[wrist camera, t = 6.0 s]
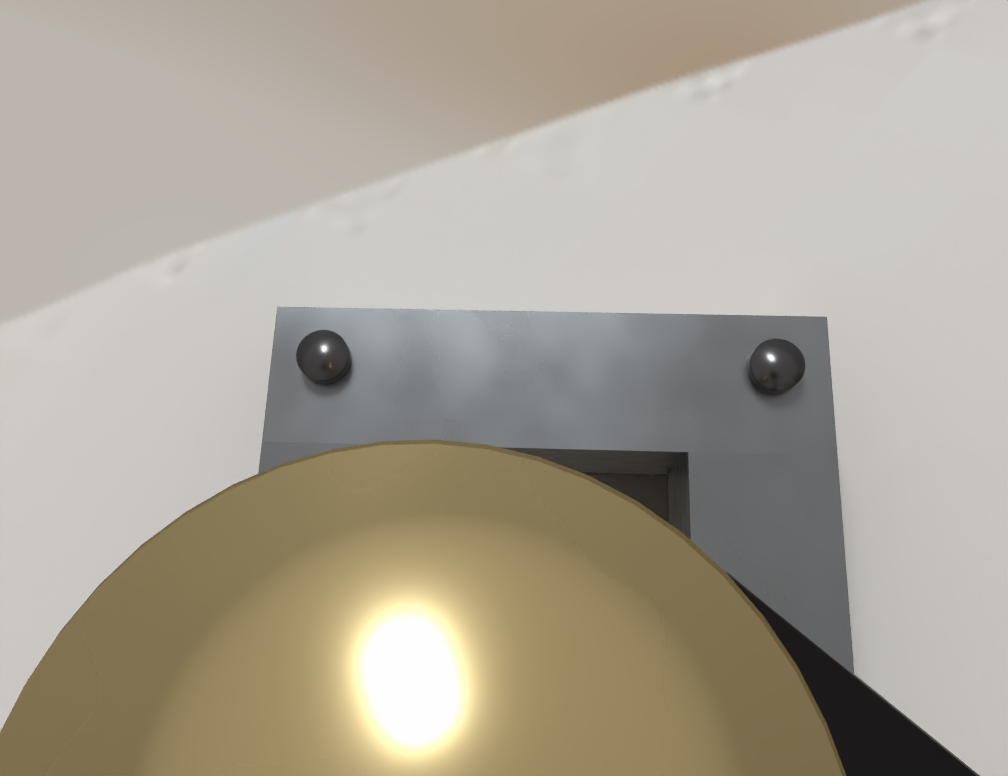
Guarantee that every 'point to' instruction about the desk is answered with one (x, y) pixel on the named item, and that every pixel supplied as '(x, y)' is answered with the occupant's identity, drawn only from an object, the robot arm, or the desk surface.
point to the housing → (602, 419)
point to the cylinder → (418, 636)
